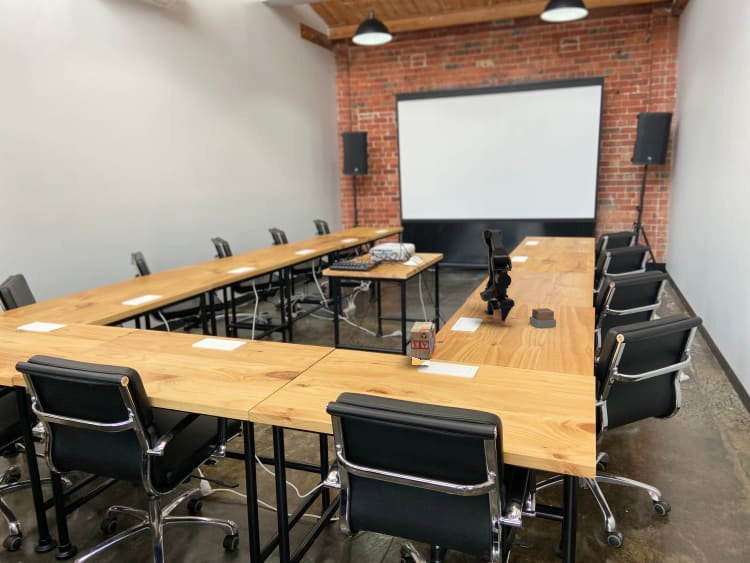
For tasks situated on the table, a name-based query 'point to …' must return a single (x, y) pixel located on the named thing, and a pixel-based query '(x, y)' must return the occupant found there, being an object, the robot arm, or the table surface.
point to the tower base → (542, 323)
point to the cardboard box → (423, 340)
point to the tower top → (543, 314)
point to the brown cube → (497, 316)
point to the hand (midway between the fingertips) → (499, 318)
